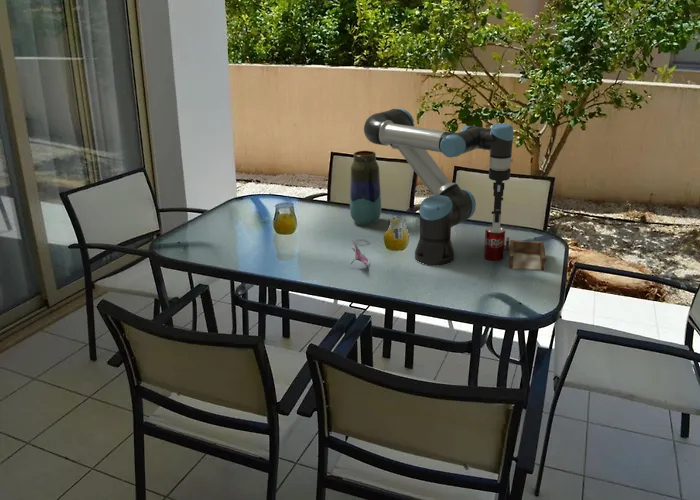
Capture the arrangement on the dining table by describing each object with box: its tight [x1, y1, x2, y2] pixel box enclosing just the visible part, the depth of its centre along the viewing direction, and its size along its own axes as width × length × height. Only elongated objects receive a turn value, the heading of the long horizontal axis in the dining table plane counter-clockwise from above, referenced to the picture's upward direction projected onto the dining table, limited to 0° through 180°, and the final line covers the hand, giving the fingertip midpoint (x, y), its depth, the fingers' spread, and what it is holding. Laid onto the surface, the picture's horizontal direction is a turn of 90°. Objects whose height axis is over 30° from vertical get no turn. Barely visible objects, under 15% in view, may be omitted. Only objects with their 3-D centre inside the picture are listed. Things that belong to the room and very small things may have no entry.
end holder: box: [508, 239, 547, 272], centre depth 234 cm, size 12×15×5 cm
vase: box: [349, 150, 382, 226], centre depth 272 cm, size 14×14×31 cm
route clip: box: [504, 236, 510, 251], centre depth 247 cm, size 5×4×4 cm
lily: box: [350, 239, 369, 266], centre depth 233 cm, size 12×12×10 cm
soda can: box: [483, 225, 506, 263], centre depth 236 cm, size 7×7×12 cm
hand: (496, 223), depth 232 cm, fingers open, 13 cm apart
